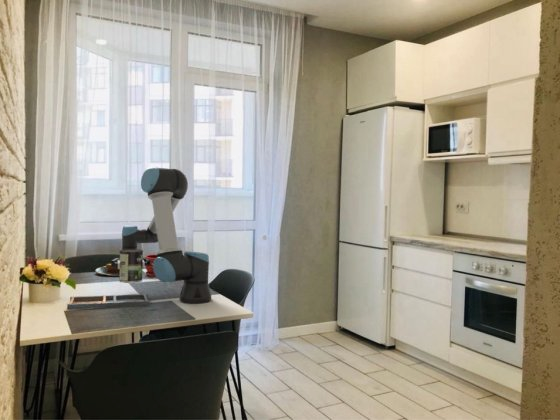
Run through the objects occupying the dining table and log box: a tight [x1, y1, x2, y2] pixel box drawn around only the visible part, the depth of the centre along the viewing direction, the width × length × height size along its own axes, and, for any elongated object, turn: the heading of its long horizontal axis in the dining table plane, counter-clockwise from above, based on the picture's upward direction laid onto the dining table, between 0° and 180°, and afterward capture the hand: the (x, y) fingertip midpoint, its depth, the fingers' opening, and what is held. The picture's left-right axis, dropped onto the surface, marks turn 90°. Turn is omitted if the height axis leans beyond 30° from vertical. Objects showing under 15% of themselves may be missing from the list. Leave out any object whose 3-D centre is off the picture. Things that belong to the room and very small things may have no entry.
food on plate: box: [94, 263, 120, 277], centre depth 290 cm, size 25×25×7 cm
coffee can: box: [118, 248, 144, 284], centre depth 218 cm, size 10×10×14 cm
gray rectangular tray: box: [66, 293, 150, 310], centre depth 215 cm, size 34×16×2 cm, turn 109°
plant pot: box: [144, 254, 157, 278], centre depth 288 cm, size 13×13×12 cm
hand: (131, 265), depth 214 cm, fingers closed on coffee can, 10 cm apart
